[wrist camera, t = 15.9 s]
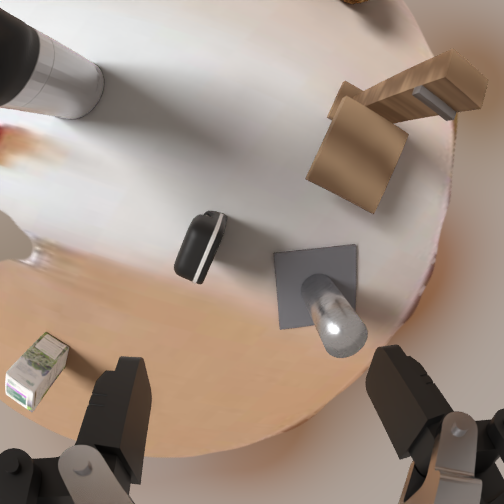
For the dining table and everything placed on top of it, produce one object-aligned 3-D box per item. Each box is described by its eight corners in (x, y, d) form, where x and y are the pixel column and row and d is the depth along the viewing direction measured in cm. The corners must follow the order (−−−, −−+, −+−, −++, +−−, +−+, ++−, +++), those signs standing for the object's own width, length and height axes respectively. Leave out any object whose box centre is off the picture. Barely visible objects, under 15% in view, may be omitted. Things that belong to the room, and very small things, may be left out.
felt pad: (279, 327, 48) (280, 329, 47) (273, 253, 44) (274, 254, 44) (353, 317, 48) (355, 318, 47) (354, 244, 45) (356, 245, 44)
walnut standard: (351, 204, 43) (454, 250, 20) (295, 176, 42) (361, 194, 19) (392, 112, 39) (509, 86, 16) (339, 80, 38) (431, 16, 15)
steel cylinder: (301, 306, 46) (323, 361, 33) (299, 275, 45) (324, 322, 31) (333, 302, 46) (365, 353, 33) (333, 271, 45) (369, 315, 31)
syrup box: (41, 351, 48) (4, 395, 34) (45, 329, 47) (4, 373, 33) (65, 366, 49) (32, 414, 35) (70, 345, 48) (33, 394, 34)
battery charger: (202, 203, 42) (190, 217, 31) (228, 214, 43) (224, 232, 32) (184, 249, 44) (166, 277, 33) (209, 259, 44) (199, 291, 33)
